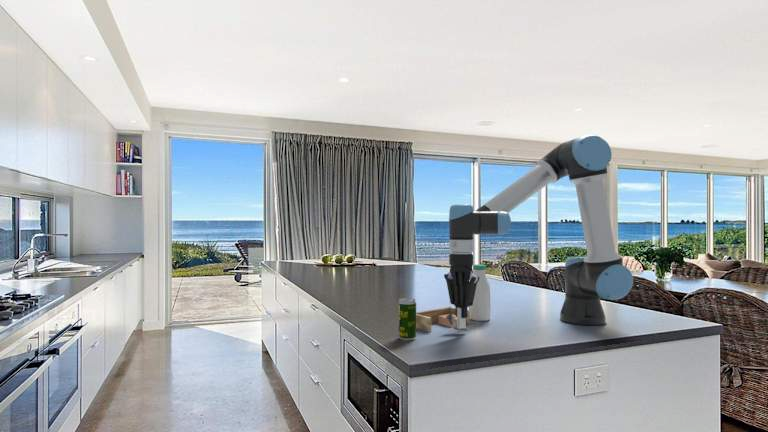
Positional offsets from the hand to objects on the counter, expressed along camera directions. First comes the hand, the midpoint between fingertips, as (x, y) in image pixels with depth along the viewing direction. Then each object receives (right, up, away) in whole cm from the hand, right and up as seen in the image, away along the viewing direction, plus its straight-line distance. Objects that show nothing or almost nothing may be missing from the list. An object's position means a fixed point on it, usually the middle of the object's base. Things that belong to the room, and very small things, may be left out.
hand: (461, 327), depth 146 cm
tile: (-1, -3, +16) cm, 16 cm away
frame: (-5, -2, +14) cm, 15 cm away
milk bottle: (+11, -3, +24) cm, 26 cm away
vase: (-1, -2, +3) cm, 4 cm away
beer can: (-17, -3, -4) cm, 18 cm away
